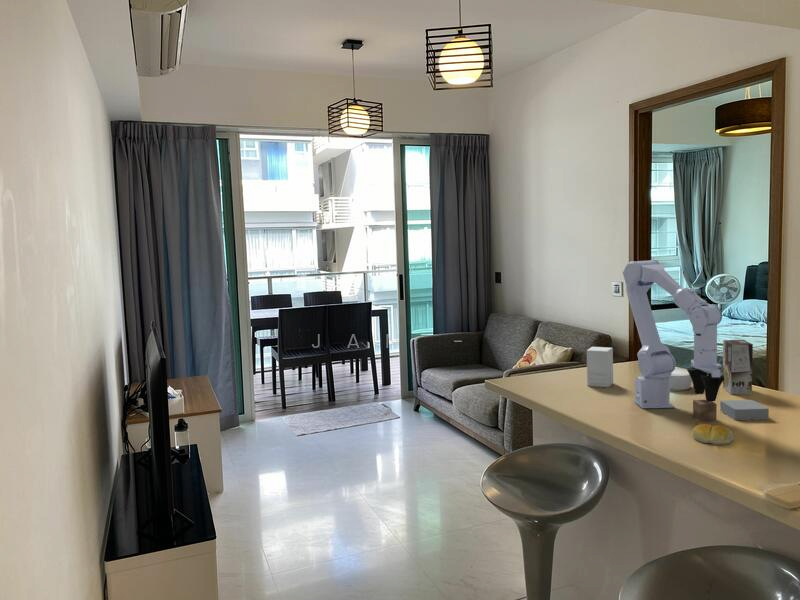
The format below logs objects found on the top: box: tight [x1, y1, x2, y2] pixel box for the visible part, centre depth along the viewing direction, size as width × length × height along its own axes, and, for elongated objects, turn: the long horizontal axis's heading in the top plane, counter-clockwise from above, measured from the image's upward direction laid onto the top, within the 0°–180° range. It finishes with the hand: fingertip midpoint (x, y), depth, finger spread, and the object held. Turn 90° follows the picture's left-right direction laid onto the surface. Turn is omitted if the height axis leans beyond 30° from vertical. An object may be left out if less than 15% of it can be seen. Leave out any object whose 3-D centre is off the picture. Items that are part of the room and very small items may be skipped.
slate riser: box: [719, 399, 770, 421], centre depth 179 cm, size 9×9×3 cm
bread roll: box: [692, 423, 734, 446], centre depth 160 cm, size 8×9×4 cm
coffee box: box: [722, 339, 754, 396], centre depth 203 cm, size 9×6×16 cm
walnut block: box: [692, 399, 718, 423], centre depth 176 cm, size 4×4×5 cm
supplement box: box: [585, 346, 614, 388], centre depth 219 cm, size 7×7×13 cm
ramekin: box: [670, 368, 693, 391], centre depth 212 cm, size 11×11×5 cm
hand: (705, 397), depth 176 cm, fingers open, 7 cm apart
